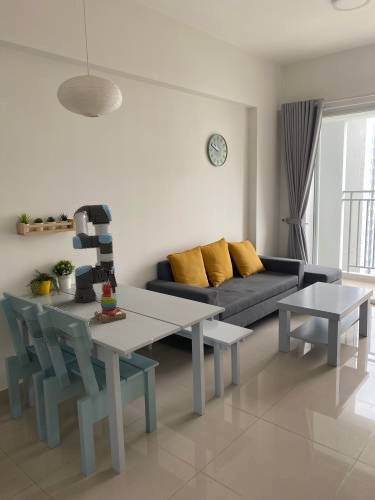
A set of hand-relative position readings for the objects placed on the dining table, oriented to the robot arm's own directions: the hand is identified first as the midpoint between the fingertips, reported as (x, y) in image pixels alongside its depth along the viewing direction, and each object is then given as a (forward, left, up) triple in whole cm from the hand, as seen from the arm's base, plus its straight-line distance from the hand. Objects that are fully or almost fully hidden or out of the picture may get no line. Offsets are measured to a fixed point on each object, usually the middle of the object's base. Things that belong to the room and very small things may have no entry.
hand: (108, 295), depth 226 cm
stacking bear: (0, 0, -11) cm, 11 cm away
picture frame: (0, 0, -13) cm, 14 cm away
